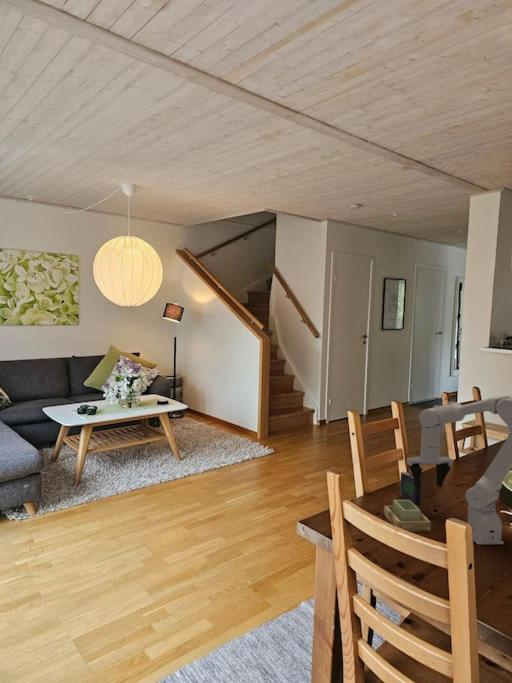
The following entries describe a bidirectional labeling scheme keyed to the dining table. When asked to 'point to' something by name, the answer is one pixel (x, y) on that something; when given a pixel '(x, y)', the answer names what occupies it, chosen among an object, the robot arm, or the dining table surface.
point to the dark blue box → (410, 488)
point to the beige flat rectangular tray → (412, 526)
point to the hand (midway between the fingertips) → (428, 486)
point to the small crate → (406, 510)
